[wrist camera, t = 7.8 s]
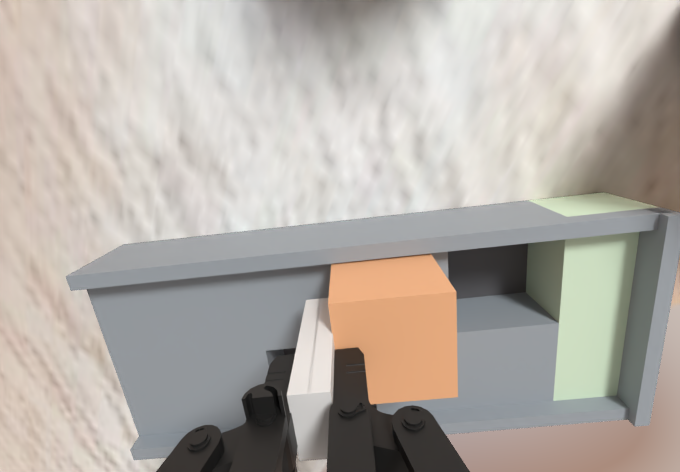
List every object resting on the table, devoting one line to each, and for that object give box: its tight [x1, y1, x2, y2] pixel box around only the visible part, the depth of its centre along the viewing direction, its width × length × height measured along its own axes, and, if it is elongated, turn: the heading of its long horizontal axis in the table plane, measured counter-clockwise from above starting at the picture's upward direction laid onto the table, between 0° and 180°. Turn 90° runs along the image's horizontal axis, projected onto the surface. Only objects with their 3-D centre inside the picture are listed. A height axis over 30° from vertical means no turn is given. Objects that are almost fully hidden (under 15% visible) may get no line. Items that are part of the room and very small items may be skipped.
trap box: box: [66, 192, 680, 460], centre depth 22 cm, size 30×12×6 cm, turn 97°
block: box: [328, 253, 458, 404], centre depth 17 cm, size 5×5×5 cm
